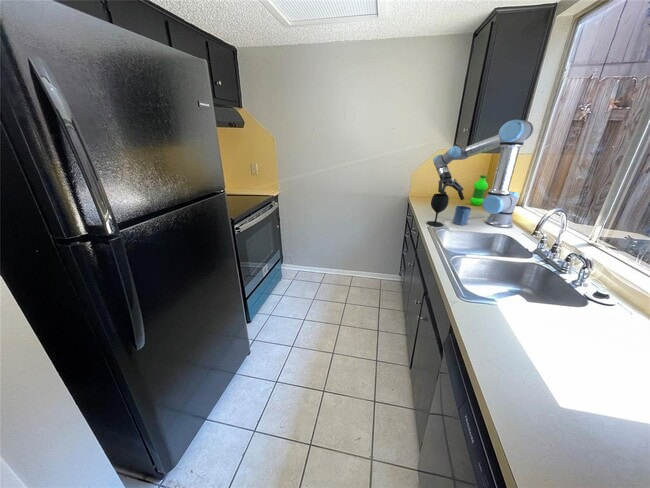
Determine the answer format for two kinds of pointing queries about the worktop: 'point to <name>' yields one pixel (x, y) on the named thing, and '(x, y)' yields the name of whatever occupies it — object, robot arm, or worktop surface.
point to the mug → (461, 215)
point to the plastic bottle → (479, 191)
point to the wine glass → (438, 207)
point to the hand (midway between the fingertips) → (455, 200)
